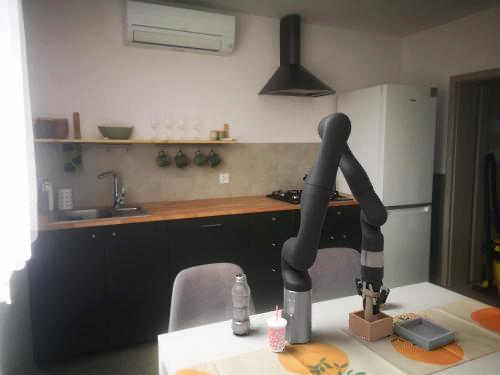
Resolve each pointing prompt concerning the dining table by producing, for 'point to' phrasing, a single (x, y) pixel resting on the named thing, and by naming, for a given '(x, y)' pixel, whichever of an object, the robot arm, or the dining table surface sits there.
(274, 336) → the beverage cup
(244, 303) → the plastic bottle
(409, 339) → the tray
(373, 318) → the handle
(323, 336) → the dining table surface
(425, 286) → the dining table surface
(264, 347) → the dining table surface
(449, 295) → the dining table surface
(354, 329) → the terracotta storage bin
